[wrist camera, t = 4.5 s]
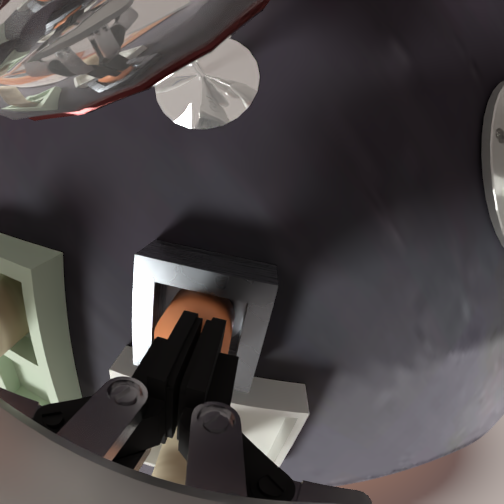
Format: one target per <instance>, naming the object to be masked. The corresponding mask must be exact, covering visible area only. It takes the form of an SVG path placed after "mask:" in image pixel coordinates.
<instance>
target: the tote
mask: <svg viewBox="0 0 504 504" xmlns="http://www.w3.org/2000/svg"><path fill="white" fill-rule="evenodd" d="M137 367H138V366H136V365H133V347H130V346H127V345H126V347H125V348H124V349H123V351H122V352H121V354H120V355H119V356H118V358H117V359H116V361H115V362H114V364H113V365H112V366H111V368H110V369H109V371H110V379H112V378H115V377H120V376H126V377H132V375H133V374H134V372H135V370H136V369H137ZM230 406H231V407H232V408H233V409H235V410H236V411H237V413H238V414H239V416H240V419H241V428H242V433H243V434H244V435H245V436H246V437H247V438H248V439H249V440H250V441H251V442H252V443H253V444H254V445H255V446H256V447H257V448H258V449H260V450H261V451H262V452H263V453H264V454H265V455H266V456H267V457H268V458H269V459H270V460H271V461H273V462H274V463H275V464H276V465H277V466H278V467H280V465H281V463H282V462H283V460H284V459H285V457H286V455H287V453H288V452H289V450H290V448H291V447H292V445H293V443H294V441H295V440H296V438H297V436H298V434H299V432H300V431H301V429H302V427H303V425H304V423H305V421H306V419H307V418H308V416H309V414H310V413H309V406H308V400H307V393H306V387H305V384H300V383H292V382H285V381H278V380H271V379H265V378H259V377H253V380H252V383H251V387H250V390H249V393H247V392H241V391H235V390H233V394H232V400H231V405H230ZM161 447H162V443H160V445H158V446H155V447H152V448H151V451H150V454H149V455H148V457H147V458H146V460H145V462H144V464H147V465H150V466H153V467H155V465H156V462H157V459H158V456H159V453H160V450H161Z"/></svg>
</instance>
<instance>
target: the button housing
mask: <svg viewBox="0 0 504 504" xmlns="http://www.w3.org/2000/svg"><path fill="white" fill-rule="evenodd" d="M181 289H187V290H191V291H196V292H200V293H204V294H209V295H213V296H218V297H223V298H227V299H229V300H230V301H231V303H232V305H233V308H234V312H235V321H234V326H233V331H232V336H231V341H230V346H229V351H228V354H229V355H234V356H238V357H239V360H238V366H237V371H236V377H235V383H234V388H233V390H235V391H241V392H247V393H249V390H250V387H251V383H252V380H253V377H254V373H255V370H256V366H257V363H258V359H259V356H260V352H261V349H262V345H263V342H264V338H265V334H266V331H267V327H268V323H269V320H270V316H271V312H272V309H273V305H274V301H275V297H276V293H277V290H278V276H277V266H276V265H274V264H269V263H264V262H259V261H255V260H250V259H245V258H240V257H235V256H231V255H226V254H221V253H216V252H212V251H207V250H202V249H198V248H193V247H188V246H184V245H179V244H174V243H170V242H165V241H160V240H154V241H153V242H151V243H150V244H149V245H147V246H146V247H144V248H143V249H142V250H140V251H139V252H137V253H136V254H135V259H134V276H133V305H132V342H133V365H136V366H138V365H139V364H140V362H141V360H142V359H143V357H144V356H145V354H146V352H147V351H148V349H149V348H150V346H151V344H152V343H153V341H154V340H155V339H154V331H155V327H156V325H157V323H158V321H159V320H160V318H161V317H162V315H163V314H164V312H165V311H166V309H167V307H168V306H169V304H170V303H171V301H172V300H173V298H174V297H175V296H176V294H177V293H178V292H179V291H180V290H181Z"/></svg>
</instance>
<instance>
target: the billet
mask: <svg viewBox="0 0 504 504" xmlns="http://www.w3.org/2000/svg"><path fill="white" fill-rule="evenodd" d="M178 443H179V440H177V428H176V431H175V433H174V436H173V438H169V437H167V440H166V443H165V444H162V447H161V450H160V453H159V456H158V459H157V462H156V465H155V468H154V470H153V473H152V476H154V477H157V478H160V479H164V480H167V481H171V482H174V483H178V484H182V485H185V480H186V465H187V461H186V460H185V458H184V457H183V456H182V454H181V453H180V452H179V451H178Z"/></svg>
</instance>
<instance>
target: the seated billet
mask: <svg viewBox="0 0 504 504" xmlns="http://www.w3.org/2000/svg"><path fill="white" fill-rule="evenodd" d="M29 332H30V331H29V326H28V321H27V316H26V310H25V305H24V298H23V292H22V284H21V282H20V281H17V280H15V279H13V278H11V277H8V276H6V275H4V274H2V273H0V357H1V356H2V355H4V354H5V353H6V352H7V351H8V350H9V349H10V348H11V347H13V346H14V345H15V344H16V343H17V342H18V341H19V340H21V339H22V338H23V337H24V336H25V335H26V334H28V333H29Z"/></svg>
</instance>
